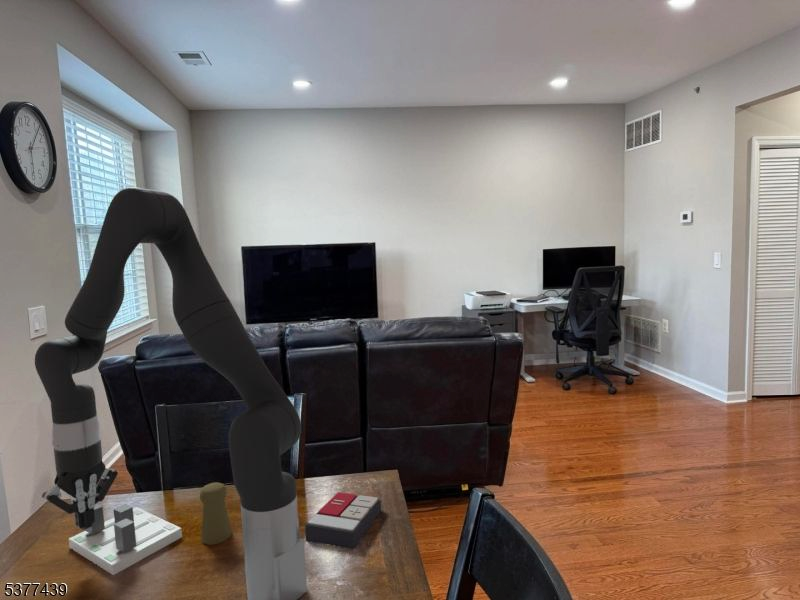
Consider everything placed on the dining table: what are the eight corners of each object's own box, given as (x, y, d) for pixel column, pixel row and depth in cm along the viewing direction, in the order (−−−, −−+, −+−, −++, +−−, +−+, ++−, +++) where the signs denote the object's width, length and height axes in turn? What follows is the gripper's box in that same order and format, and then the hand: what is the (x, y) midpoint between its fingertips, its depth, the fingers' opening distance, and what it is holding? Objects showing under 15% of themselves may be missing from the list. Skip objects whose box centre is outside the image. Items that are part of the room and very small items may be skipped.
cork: (221, 545, 100) (217, 493, 99) (194, 543, 101) (190, 491, 100) (237, 528, 106) (233, 479, 105) (211, 526, 107) (207, 477, 106)
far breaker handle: (104, 529, 103) (102, 506, 103) (92, 535, 101) (90, 511, 101) (98, 525, 105) (95, 502, 104) (85, 531, 103) (83, 508, 102)
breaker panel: (182, 537, 104) (181, 527, 103) (113, 575, 92) (112, 564, 92) (137, 515, 113) (136, 506, 113) (69, 547, 101) (68, 538, 101)
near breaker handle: (136, 546, 97) (134, 522, 96) (124, 553, 95) (121, 528, 94) (128, 542, 98) (126, 518, 98) (116, 548, 96) (113, 524, 96)
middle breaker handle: (134, 530, 102) (132, 507, 102) (123, 536, 100) (120, 512, 100) (127, 526, 104) (125, 503, 103) (115, 532, 102) (113, 509, 101)
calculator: (381, 495, 111) (353, 529, 97) (381, 514, 111) (354, 550, 97) (337, 489, 115) (304, 521, 101) (337, 508, 115) (304, 541, 101)
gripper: (46, 458, 87) (56, 551, 88) (123, 433, 98) (130, 516, 99) (28, 449, 91) (38, 538, 93) (103, 426, 102) (111, 506, 104)
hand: (86, 527), depth 96 cm, fingers closed
